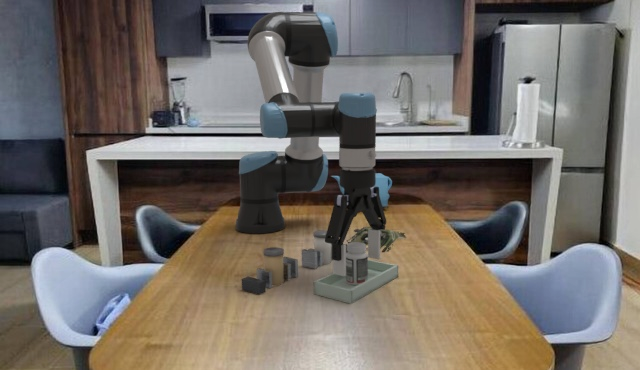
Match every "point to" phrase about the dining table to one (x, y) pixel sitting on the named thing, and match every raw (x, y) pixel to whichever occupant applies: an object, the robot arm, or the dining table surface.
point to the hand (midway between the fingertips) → (357, 266)
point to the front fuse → (274, 264)
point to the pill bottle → (356, 263)
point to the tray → (349, 293)
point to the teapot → (380, 182)
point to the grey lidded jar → (322, 245)
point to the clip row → (264, 277)
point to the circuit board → (385, 237)
